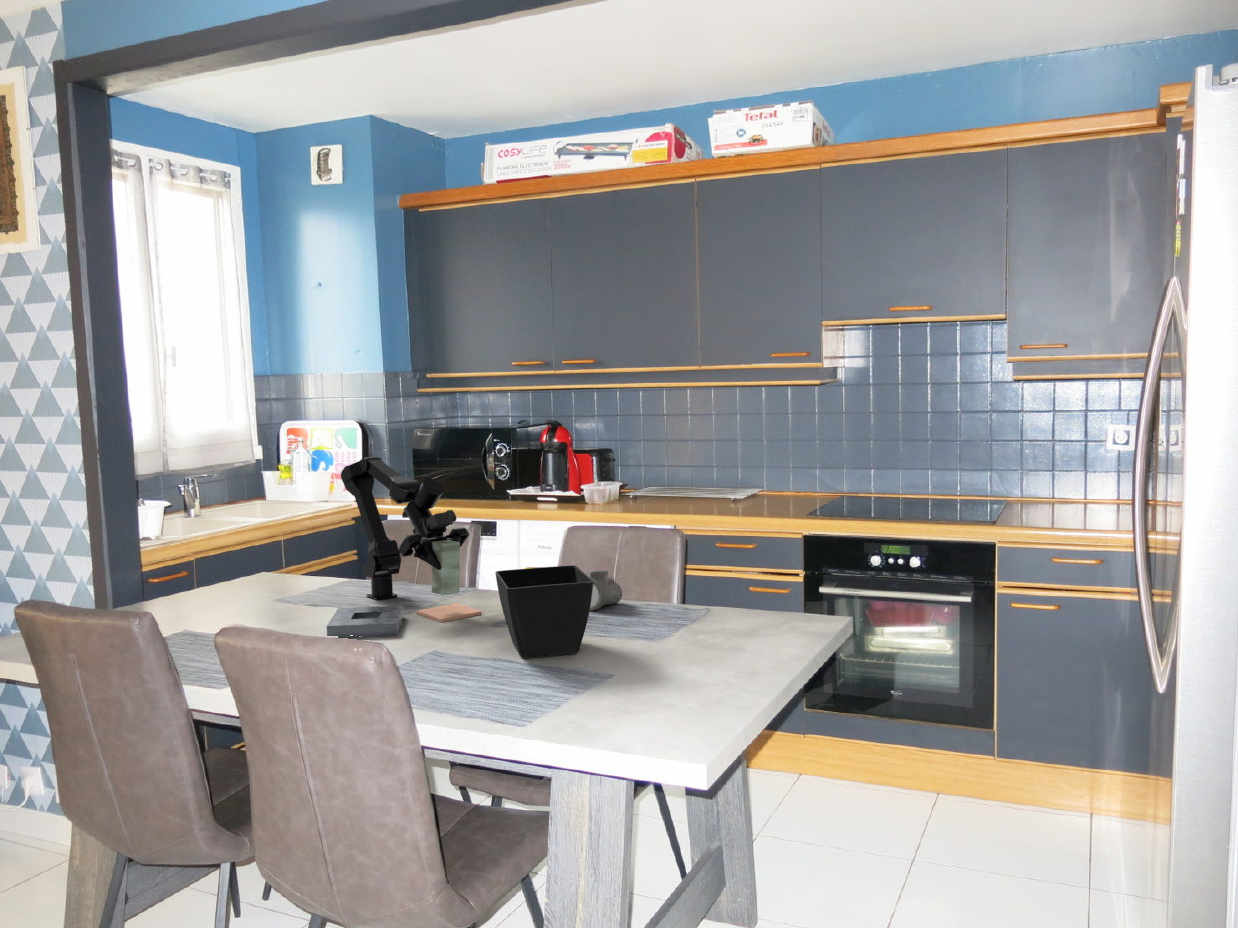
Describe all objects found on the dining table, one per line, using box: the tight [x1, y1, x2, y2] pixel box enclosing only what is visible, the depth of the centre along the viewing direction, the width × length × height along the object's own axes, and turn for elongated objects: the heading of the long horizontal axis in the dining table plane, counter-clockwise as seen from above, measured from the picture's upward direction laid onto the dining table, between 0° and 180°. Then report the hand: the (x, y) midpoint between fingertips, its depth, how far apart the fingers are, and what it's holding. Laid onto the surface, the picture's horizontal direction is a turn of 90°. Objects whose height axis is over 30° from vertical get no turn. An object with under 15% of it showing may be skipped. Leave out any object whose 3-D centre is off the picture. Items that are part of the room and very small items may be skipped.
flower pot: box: [495, 564, 593, 659], centre depth 216 cm, size 19×19×17 cm
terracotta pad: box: [415, 603, 482, 623], centre depth 250 cm, size 12×12×1 cm
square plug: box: [431, 540, 461, 596], centre depth 249 cm, size 5×5×13 cm
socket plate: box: [326, 605, 404, 639], centre depth 237 cm, size 18×16×3 cm
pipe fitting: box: [588, 569, 623, 612], centre depth 257 cm, size 12×8×10 cm, turn 142°
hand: (448, 567), depth 248 cm, fingers closed on square plug, 5 cm apart
